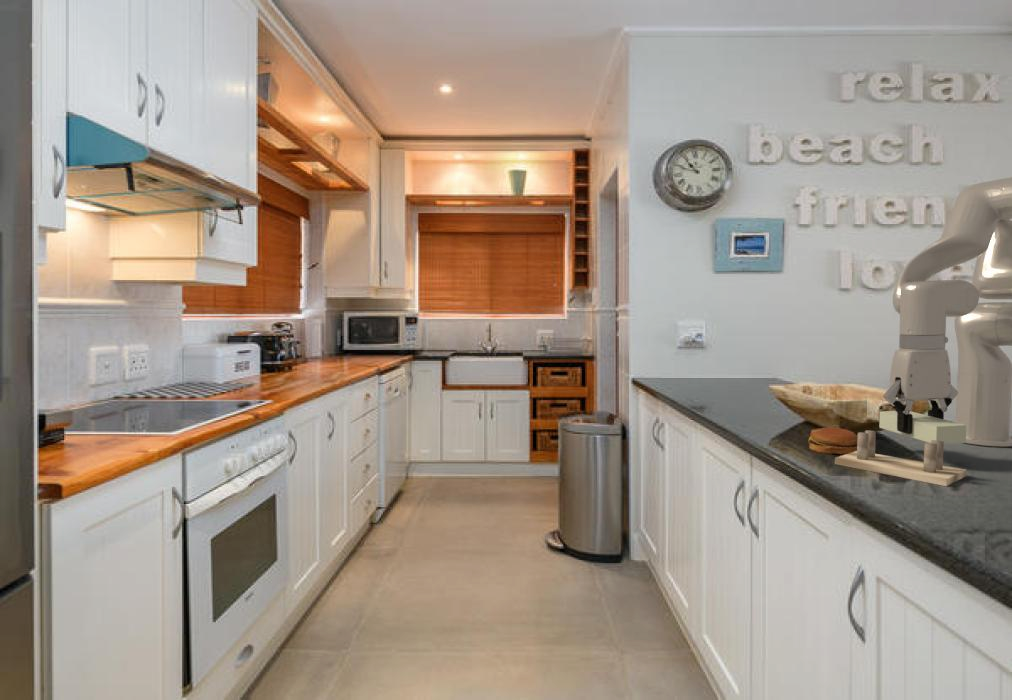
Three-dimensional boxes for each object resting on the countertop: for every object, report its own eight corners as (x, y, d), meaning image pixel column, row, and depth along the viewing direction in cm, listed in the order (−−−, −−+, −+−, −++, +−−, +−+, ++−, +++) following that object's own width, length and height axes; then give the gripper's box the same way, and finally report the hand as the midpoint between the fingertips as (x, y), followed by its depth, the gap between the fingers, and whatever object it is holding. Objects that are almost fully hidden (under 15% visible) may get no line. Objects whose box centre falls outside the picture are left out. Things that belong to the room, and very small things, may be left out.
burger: (869, 456, 118) (870, 434, 117) (824, 456, 118) (825, 434, 117) (841, 445, 128) (841, 425, 127) (799, 445, 128) (800, 425, 127)
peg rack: (857, 456, 117) (858, 426, 117) (966, 476, 102) (967, 442, 102) (834, 463, 111) (835, 432, 111) (946, 486, 97) (947, 450, 96)
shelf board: (905, 426, 124) (906, 410, 124) (965, 443, 109) (966, 425, 109) (879, 427, 123) (879, 411, 123) (936, 444, 108) (936, 426, 108)
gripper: (945, 340, 119) (942, 425, 121) (868, 344, 118) (867, 429, 119) (978, 342, 112) (975, 432, 113) (896, 346, 110) (895, 438, 112)
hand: (919, 430), depth 116 cm, fingers closed on shelf board, 6 cm apart
